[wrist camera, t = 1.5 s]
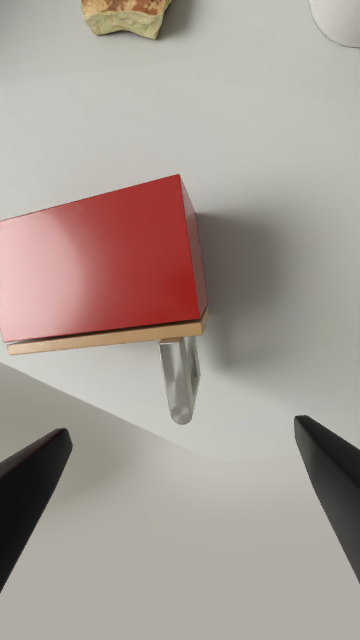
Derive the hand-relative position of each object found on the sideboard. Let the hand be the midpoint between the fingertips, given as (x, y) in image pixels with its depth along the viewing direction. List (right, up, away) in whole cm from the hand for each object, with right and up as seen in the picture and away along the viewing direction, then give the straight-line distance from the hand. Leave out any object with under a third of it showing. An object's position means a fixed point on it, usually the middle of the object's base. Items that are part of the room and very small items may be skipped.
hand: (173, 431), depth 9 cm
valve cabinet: (-5, +9, +13) cm, 16 cm away
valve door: (-4, +2, +14) cm, 14 cm away
